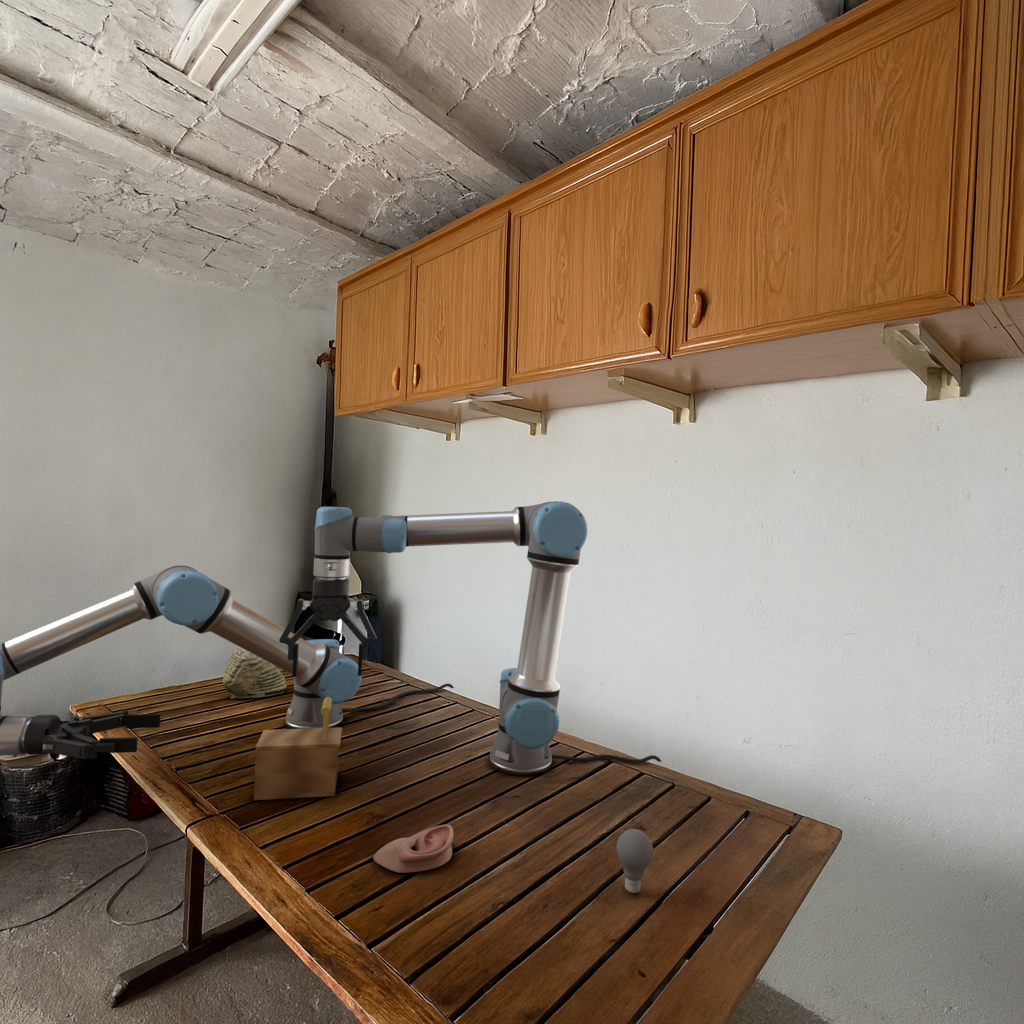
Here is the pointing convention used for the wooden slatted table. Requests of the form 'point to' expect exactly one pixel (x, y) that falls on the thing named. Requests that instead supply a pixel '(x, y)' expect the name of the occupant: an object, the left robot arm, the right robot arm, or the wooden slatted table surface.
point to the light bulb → (634, 857)
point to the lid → (302, 735)
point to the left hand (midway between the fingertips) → (149, 732)
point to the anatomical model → (417, 851)
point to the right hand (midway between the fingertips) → (327, 674)
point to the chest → (295, 773)
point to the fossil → (252, 676)
